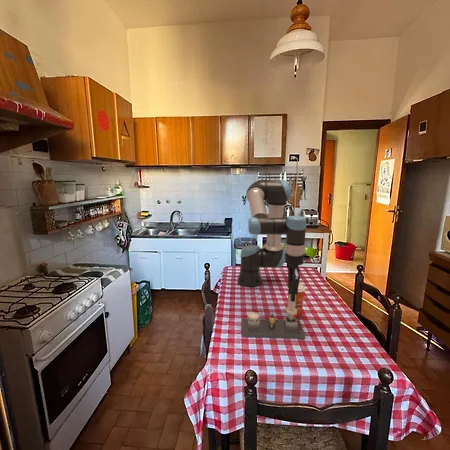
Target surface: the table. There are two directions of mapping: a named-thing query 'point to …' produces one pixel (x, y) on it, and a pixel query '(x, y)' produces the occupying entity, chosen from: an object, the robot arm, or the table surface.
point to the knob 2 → (291, 313)
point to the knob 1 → (253, 316)
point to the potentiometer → (272, 321)
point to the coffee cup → (299, 300)
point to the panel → (273, 329)
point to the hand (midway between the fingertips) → (291, 307)
